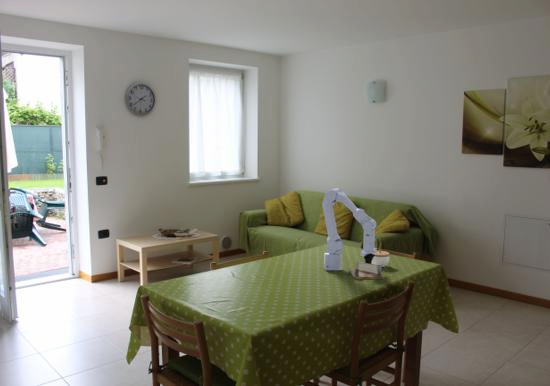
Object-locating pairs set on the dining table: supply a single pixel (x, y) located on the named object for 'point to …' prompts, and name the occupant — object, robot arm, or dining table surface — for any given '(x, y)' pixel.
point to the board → (364, 274)
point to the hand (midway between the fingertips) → (368, 267)
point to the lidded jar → (381, 258)
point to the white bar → (369, 267)
